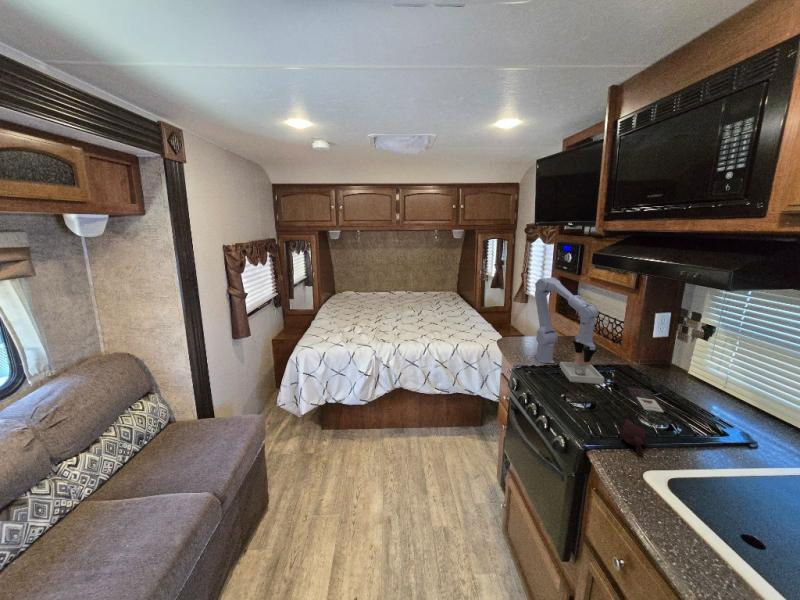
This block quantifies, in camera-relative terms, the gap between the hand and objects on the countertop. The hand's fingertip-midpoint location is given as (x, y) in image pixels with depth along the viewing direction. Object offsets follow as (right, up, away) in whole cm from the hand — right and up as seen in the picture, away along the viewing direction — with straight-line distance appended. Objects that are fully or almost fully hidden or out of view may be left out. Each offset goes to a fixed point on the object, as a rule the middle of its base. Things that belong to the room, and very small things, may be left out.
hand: (582, 358), depth 153 cm
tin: (0, -8, +2) cm, 8 cm away
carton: (0, -2, +1) cm, 2 cm away
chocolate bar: (+15, -14, -20) cm, 28 cm away
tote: (0, -8, +2) cm, 9 cm away
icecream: (-10, -20, -46) cm, 51 cm away
